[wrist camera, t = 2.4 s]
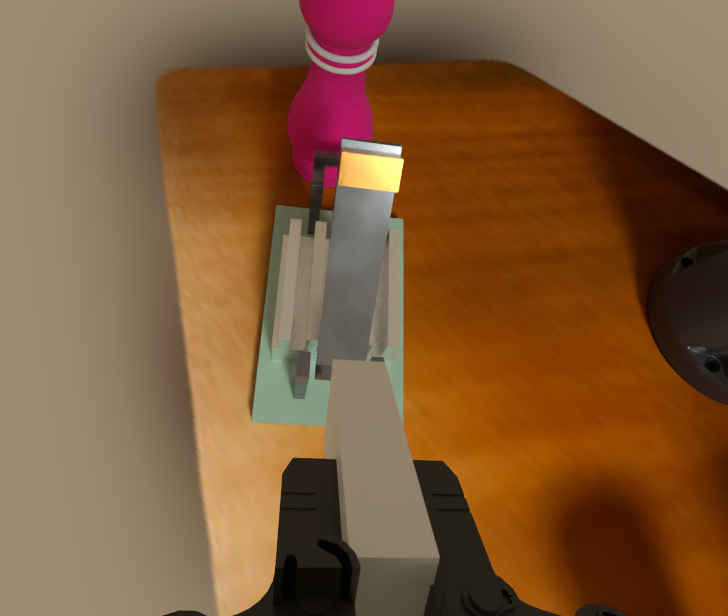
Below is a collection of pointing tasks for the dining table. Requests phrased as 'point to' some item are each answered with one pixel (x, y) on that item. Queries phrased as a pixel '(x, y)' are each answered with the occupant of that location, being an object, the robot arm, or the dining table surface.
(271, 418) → the mainboard
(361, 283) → the grey bar
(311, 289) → the grey blocky device
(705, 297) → the robot arm
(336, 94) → the pepper mill
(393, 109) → the dining table surface
